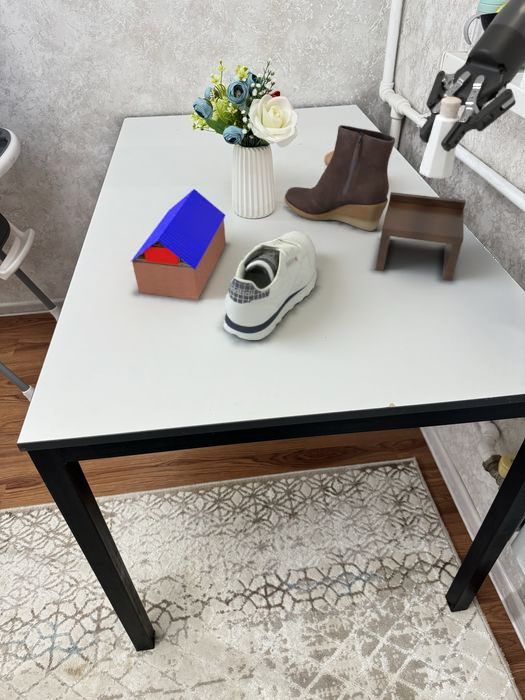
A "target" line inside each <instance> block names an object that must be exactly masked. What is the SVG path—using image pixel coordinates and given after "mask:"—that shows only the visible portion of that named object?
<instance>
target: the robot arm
mask: <svg viewBox="0 0 525 700" xmlns="http://www.w3.org/2000/svg"><path fill="white" fill-rule="evenodd" d="M524 65H525V0H508V1H507V2H506V3H505V4H504V6H502V7H501V9H500V10H499V11H498V12H497V14H496V15H495V16H494V18H493V19H492V21H491V22H490V23H489V24H488V26H487V28H486V29H485V30H484V32H483V33H482V35H480V37H479V38H478V40H477V41H476V43H475V44H474V45H473V47H472V48H471V50H470V51H469V53H468V55H467V58H466V60H465V63H464V64H463V65H462V66H460V67H459V68H458V69H457V70H456V71H455V72H454V73H446V71H445V70H440V71H438V73H437V74H436V76H435V79H434V82H433V84H432V87H431V89H430V92H429V95H428V98H427V101H426V103H425V105H426V107H427V109H428V110H429V112H430V115H429V117H428V118H427V119H426V121H425V123H424V124H422V125H423V126H421V128H420V130H419V138H420V139H421V142H423V143H426V144H427V143H428V140H429V137H430V134H431V130H432V127H433V123H434V120H435V117H436V115H438V114H440V109H441V101H442V99H443V98H445V97H456V98H459V99H460V100H461V104H460V106H459V109H460V108H461V107H462V106H463V107H464V109H463V111H462V114H461V116H460V117H459V122H456V123H455V124H454V126H453V127H452V128H451V130H450V131H449V132H448V134H447V135H446V136H445V138H444V139H443V140H442V142H441V146H442V147H443V149H444V150H445V151H448V152H449V151H450V150H451V149H454V148H455V147H456V148H457V147H458V144H459V143H460V142H461V141H462V139H463V138H464V137H465V136H466V134H467V133H468V132H471V131H472V130H476V131H477V132H483V131H484V130H485V129H487V128H488V127H489V126H491V124H493V123H494V122H495V121H497V120H498V119H499V118H500V117H502V115H504V114H505V113H507V111H509V110H510V109H512V107H514V106H515V105H516V103H517V101H516V97H515V94H514V92H513V89H511V88H507V85H508V84H509V83H511V82H513V79H514V78H515V77H516V76H517V74H518V73H519V71H520V70H521V69H522V68H523V66H524Z"/></svg>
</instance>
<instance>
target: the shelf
mask: <svg viewBox="0 0 525 700" xmlns="http://www.w3.org/2000/svg"><path fill="white" fill-rule="evenodd" d="M466 201H467V200H466V199H456V198H447V197H439V196H430V195H420V194H414V193H413V194H412V193H403V192H402V193H401V192H393V191H391V192H390V193H389V198H388V203H387V208H386V212H385V216H384V221H383V223H382V228H381V235H380V239H379V247H378V252H377V259H376V265H375V271H379V272H380V271H381V272H384V269H385V265H386V260H387V256H388V253H389V247H390V242H391V238H401V239H407V240H416V241H422V242H431V243H437V244H439V243H440V244H445V245H444V251H443V252H444V253H443V266H442V267H443V268H442V280H443V281H447V282H452V279H453V276H454V272H455V269H456V266H457V262H458V259H459V255H460V252H461V250H462V245H463V242H464V238H465V237H464V235H465V234H464V229H465V228H464V225H465V224H464V222H465V220H464V219H465V218H464V213H465V212H464V210H465V207H466V203H467V202H466Z"/></svg>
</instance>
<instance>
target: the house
mask: <svg viewBox="0 0 525 700" xmlns="http://www.w3.org/2000/svg"><path fill="white" fill-rule="evenodd" d="M225 219H226V214H225V213H224V212H223V211H221V210H220V209H219V208H218V207H217V206H215V205H214V204H213V203H212V202H210V200H208V199H207V198H206V197H205V196H204V195H202V194H201V193H200V192H199V191H198V190H196V189H195V188H193V189H192V190H190V191H189V192H188V193H187V194H186V195H185V196H183V198H181V199H180V200H179V201H178V202H177V203H176V204H174V205H173V206H172V207H171V208H170V209H168V211H167V212H166V214H165V215H164V216H163V218H162V219H161V220H160V222H158V224H157V226H156V227H155V228H154V230H153V231H152V232H151V233H150V235H149V236H148V237H147V239H146V240H145V241H144V243H143V244H142V245H141V246H140V248H139V250H138V251H137V252H136V253H135V254H134V256H133V257H132V259H131V260H130V262H131V263H132V267H133V271H134V276H135V280H136V284H137V289H138V293H139V294H146V295H155V296H163V297H171V298H179V299H191V300H197V301H198V300H199V298H200V296H201V294H202V293H203V291H204V288H206V285H207V283H208V282H209V279H210V277H211V275H212V273H213V272H214V269H215V267H216V265H217V263H218V261H219V259H220V257H221V255H222V253H223V251H224V249H225V247H226V245H227V243H226V230H225Z"/></svg>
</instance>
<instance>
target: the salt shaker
mask: <svg viewBox="0 0 525 700" xmlns="http://www.w3.org/2000/svg"><path fill="white" fill-rule="evenodd" d="M460 104H461V100H460V99H459V98H456V97H445V98H443V99H442V101H441V109H440V114H438V115H436V117H435V120H434V123H433V127H432V130H431V134H430V137H429V140H428V143H426V147H425V149H424V153H423V156H422V160H421V163H420V166H419V174H420V175H423V176H425V177H426V178H428V179H438V180H442V179H443V180H444V179H447V178H450V177H452V175H453V169H454V163H455V156H456V148H457V146H456V147H455V148H454V149H451V150H450V151H449V152H448V151H445V150H444V149H443V147H442V146H441V142H442V140H443V139H444V138H445V136H446V135H447V134H448V132H449V131H450V130H451V128H452V127H453V126H454V124H455V123H456V122H460V116H459V112H460V108H459V106H460Z"/></svg>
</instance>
